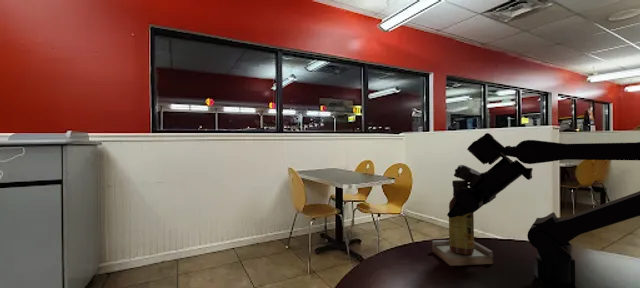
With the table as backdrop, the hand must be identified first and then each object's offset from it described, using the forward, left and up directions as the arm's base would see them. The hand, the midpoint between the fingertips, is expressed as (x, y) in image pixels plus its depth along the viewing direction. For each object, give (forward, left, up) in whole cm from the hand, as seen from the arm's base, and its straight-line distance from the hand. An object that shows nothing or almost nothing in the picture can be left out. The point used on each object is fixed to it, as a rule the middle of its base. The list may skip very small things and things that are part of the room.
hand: (454, 213), depth 80 cm
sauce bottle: (-2, +1, -11) cm, 11 cm away
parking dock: (-2, 0, -13) cm, 13 cm away
